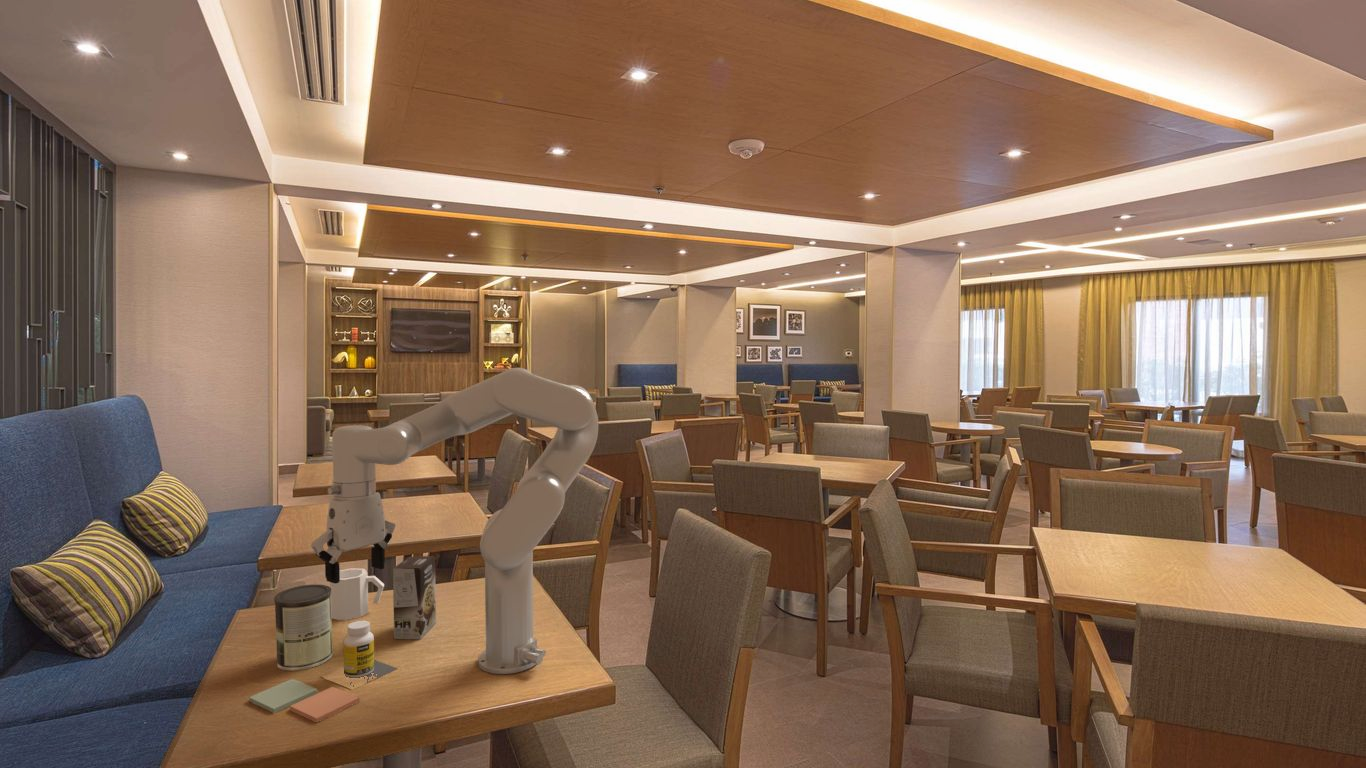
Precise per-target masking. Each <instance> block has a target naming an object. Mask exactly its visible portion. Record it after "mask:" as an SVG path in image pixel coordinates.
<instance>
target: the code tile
mask: <svg viewBox="0 0 1366 768" xmlns="http://www.w3.org/2000/svg"><path fill="white" fill-rule="evenodd" d="M398 669H399V668H397V667H396V666H392V665H390V664H386V663H384V662H381V661H378V660H375V659H374V670H373V671H372V672H371V673H374V674H373V676H375V677H377V679H379V677H380V678H382V677H383V675H384V676H386V675H387V674H390V673H392V672H394V671H396V670H398ZM371 673H370V674H369V675H366V676H367V677H368V679H367V684H369V683H368V680H369V677H371V676H372V674H371ZM376 674H377V676H376ZM385 674H386V675H385ZM381 676H382V677H381ZM364 679H365V677H364ZM372 679H373V677H372ZM351 683H352V682H351ZM351 683H350V685H351ZM353 687H354V685H353Z"/></svg>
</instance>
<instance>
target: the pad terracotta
mask: <svg viewBox="0 0 1366 768" xmlns="http://www.w3.org/2000/svg"><path fill="white" fill-rule="evenodd" d="M356 702H358V703H359V702H360V698H359V697H358V696H356V695H354V694H351V693H349V692H346V691H344V690H341V689H339V688H336V687H335V686H331V687H328V688H327V689H324V690H322V691H320V692H317V694H315V695H313V696H311V697H309V698H306V699H304V700H302V701H300V702H298V703H296V704H293V705H291V706H289V711H291V712H293V713H294V714H297V715H299V716H301V717H304V718H305V717H306V719H307V720H310V719H311V720H310V721H312V720H313V721H312V722H314V721H315V722H314V723H316V722H318V723H319V721H320V720H322V721H324V720H326V719H327V718H326V717H328V718H330V717H332V716H334V715H335V714H334V713H336V714H338V713H340V712H341V711H340V710H342V709H344V708H346V707H348V706H350V707H352V706H353V705H352V704H354V705H356V704H357V703H356ZM355 703H356V704H355ZM351 705H352V706H351ZM348 708H349V707H348ZM346 709H347V708H346ZM344 710H345V709H344ZM339 711H340V712H339ZM342 711H343V710H342ZM337 712H338V713H337ZM333 714H334V715H333ZM331 715H332V716H331ZM329 716H330V717H329ZM325 718H326V719H325ZM323 719H324V720H323ZM320 722H321V721H320Z"/></svg>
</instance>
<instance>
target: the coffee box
mask: <svg viewBox="0 0 1366 768" xmlns="http://www.w3.org/2000/svg"><path fill="white" fill-rule="evenodd" d="M392 575H393V576H392V579H393V580H392V583H393V584H392V587H393V589H392V590H393V593H392V594H393V596H392V597H393V598H392V599H393V604H392V605H393V639H394V640H395V639H396V640H398V639H399V640H421V639H422V638H424V636H426V634H427V633H429V631H431V630H432V628H434V626H435V625H436V624H437V600H436V599H437V594H436V556H434V555H433V556H431V555H427V556H425V555H424V556H423V555H422V556H420V555H419V556H408V557H407V558H406V559H404V560H403V561H401V562H399V563H398V564H397V565H396V566H394V567H393V568H392Z"/></svg>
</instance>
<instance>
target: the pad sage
mask: <svg viewBox="0 0 1366 768" xmlns="http://www.w3.org/2000/svg"><path fill="white" fill-rule="evenodd" d="M317 693H318V688H315V687H313V686H311V685H308V684H306V683H303V682H301V681H299V680H297V679H294V678H291V679H288V680H287V681H284V682H281V683H279V684H277V685H275V686H271V687H269V688H267V689H265V690H263V691H260V692H258V693H255V694H254V695H251V696H249V697H248V702H250V703H252V704H254V705H256V706H258V707H260V708H262V709H264V710H266V711H268V712H271V713H273V714H276V713H278V712H280V711H282V710H285V709H287V708H290V706H291V705H293V704H296V703H298V702H300V701H302V700H304V699H307V698H309V697H311V696H313V695H315V694H317Z"/></svg>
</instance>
